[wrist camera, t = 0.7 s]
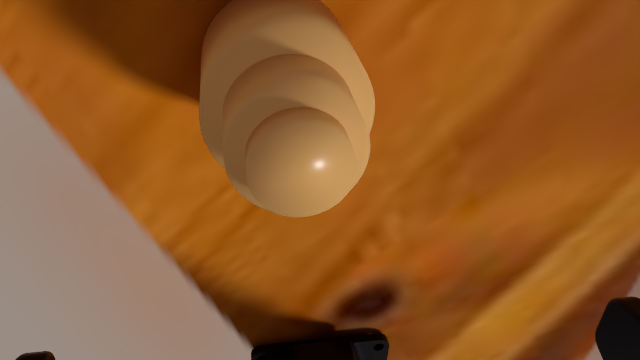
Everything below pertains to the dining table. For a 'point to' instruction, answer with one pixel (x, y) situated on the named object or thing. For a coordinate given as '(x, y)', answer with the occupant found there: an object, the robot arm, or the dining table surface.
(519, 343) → the dining table surface
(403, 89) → the dining table surface
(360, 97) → the beige tiered cylinder
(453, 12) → the dining table surface
